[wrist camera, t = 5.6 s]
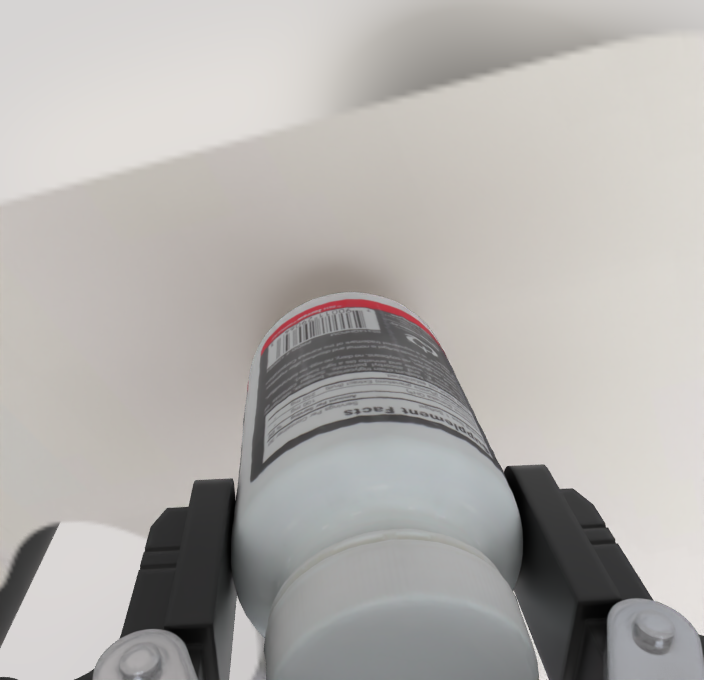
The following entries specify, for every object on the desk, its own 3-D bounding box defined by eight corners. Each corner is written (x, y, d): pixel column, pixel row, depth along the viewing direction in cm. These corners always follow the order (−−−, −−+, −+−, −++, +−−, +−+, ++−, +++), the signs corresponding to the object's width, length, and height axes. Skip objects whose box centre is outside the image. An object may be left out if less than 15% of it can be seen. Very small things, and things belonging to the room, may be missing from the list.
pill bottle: (407, 476, 20) (501, 835, 11) (228, 438, 19) (175, 802, 10) (474, 314, 18) (654, 596, 9) (278, 261, 17) (266, 523, 8)
